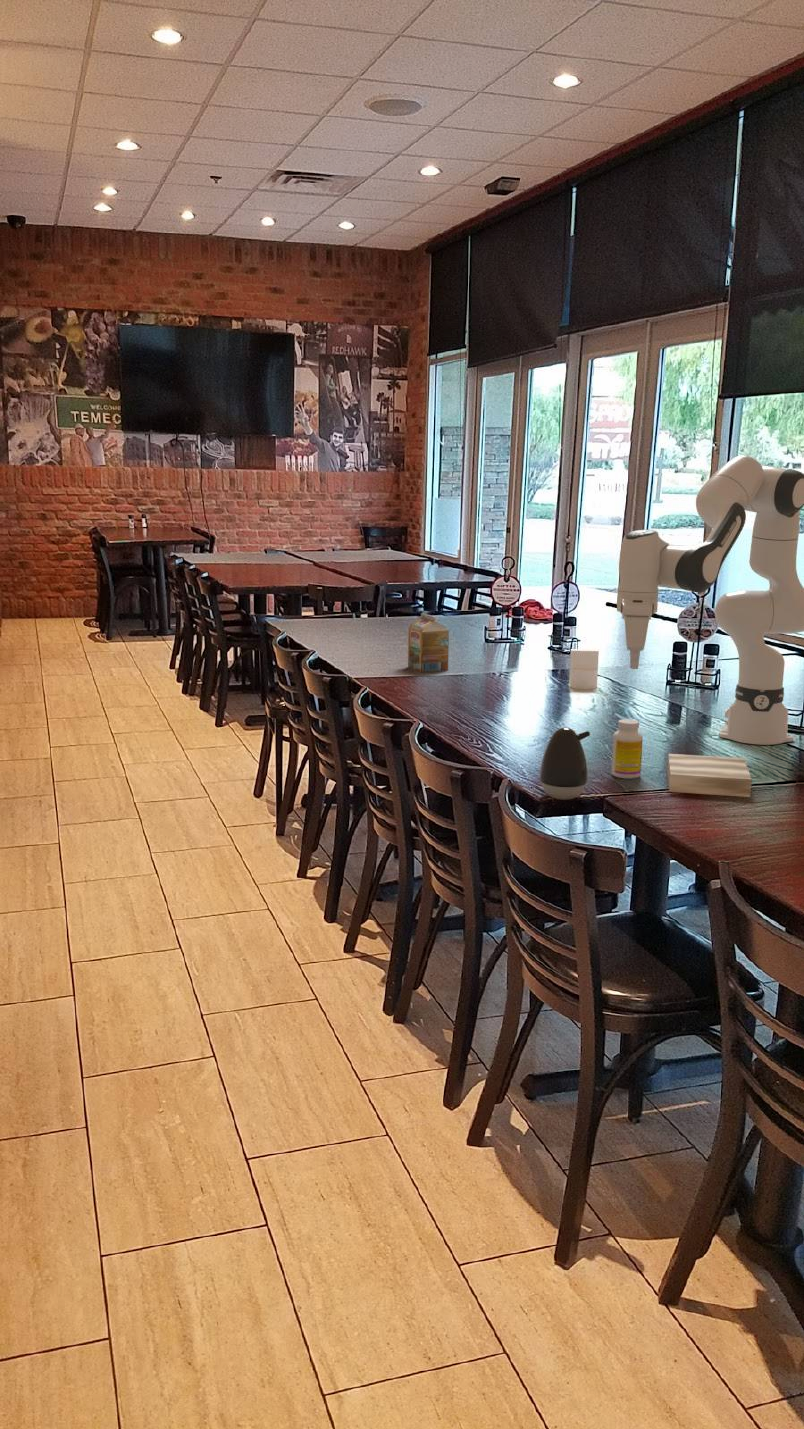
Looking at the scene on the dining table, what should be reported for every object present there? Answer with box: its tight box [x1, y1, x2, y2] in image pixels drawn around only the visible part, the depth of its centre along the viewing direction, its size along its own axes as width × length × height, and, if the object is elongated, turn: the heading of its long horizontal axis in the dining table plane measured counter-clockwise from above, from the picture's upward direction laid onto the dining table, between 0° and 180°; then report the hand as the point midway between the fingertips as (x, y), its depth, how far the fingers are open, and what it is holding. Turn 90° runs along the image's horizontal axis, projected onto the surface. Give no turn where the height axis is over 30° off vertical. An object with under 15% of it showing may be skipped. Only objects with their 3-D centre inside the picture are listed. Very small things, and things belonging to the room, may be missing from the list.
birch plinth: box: [666, 753, 753, 798], centre depth 245 cm, size 18×17×4 cm
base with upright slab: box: [568, 648, 600, 690], centre depth 353 cm, size 9×9×12 cm
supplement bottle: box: [611, 718, 644, 780], centre depth 249 cm, size 7×7×13 cm
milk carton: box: [407, 613, 450, 673], centre depth 381 cm, size 11×11×19 cm
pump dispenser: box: [539, 727, 591, 801], centre depth 233 cm, size 10×10×15 cm
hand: (634, 665), depth 245 cm, fingers open, 8 cm apart
